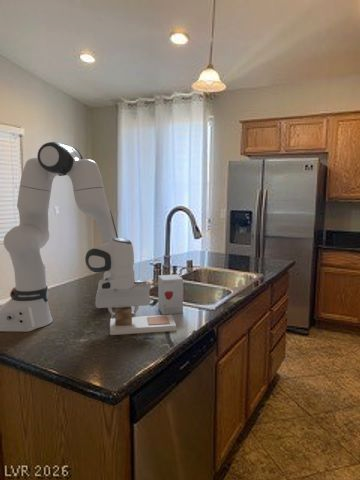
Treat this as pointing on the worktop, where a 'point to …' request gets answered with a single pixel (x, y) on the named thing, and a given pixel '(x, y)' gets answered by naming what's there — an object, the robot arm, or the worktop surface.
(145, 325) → the white rectangular board
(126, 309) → the walnut cap
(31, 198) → the robot arm
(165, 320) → the terracotta tile
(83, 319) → the worktop surface
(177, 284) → the supplement box
